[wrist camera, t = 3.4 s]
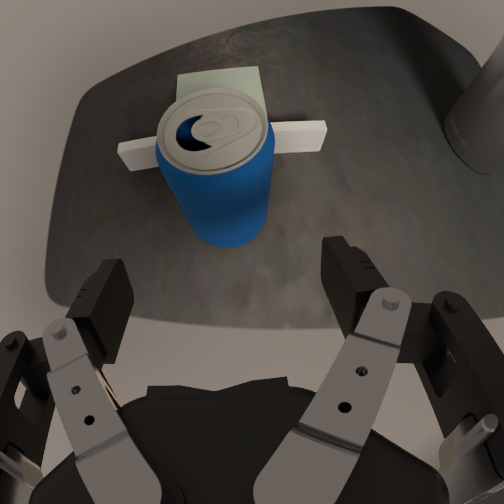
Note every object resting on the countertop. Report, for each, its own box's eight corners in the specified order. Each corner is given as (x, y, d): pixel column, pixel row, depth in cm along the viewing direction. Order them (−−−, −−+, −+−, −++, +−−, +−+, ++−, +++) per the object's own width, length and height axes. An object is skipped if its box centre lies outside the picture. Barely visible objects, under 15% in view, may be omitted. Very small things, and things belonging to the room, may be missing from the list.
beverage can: (183, 190, 26) (143, 100, 15) (254, 171, 27) (255, 72, 15) (199, 259, 25) (157, 198, 13) (276, 238, 25) (295, 161, 14)
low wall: (317, 142, 28) (324, 120, 24) (319, 151, 27) (327, 129, 24) (131, 162, 27) (118, 143, 24) (130, 171, 27) (117, 152, 24)
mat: (257, 69, 30) (257, 66, 30) (268, 128, 28) (268, 124, 27) (178, 78, 30) (177, 75, 29) (176, 138, 28) (174, 135, 27)
